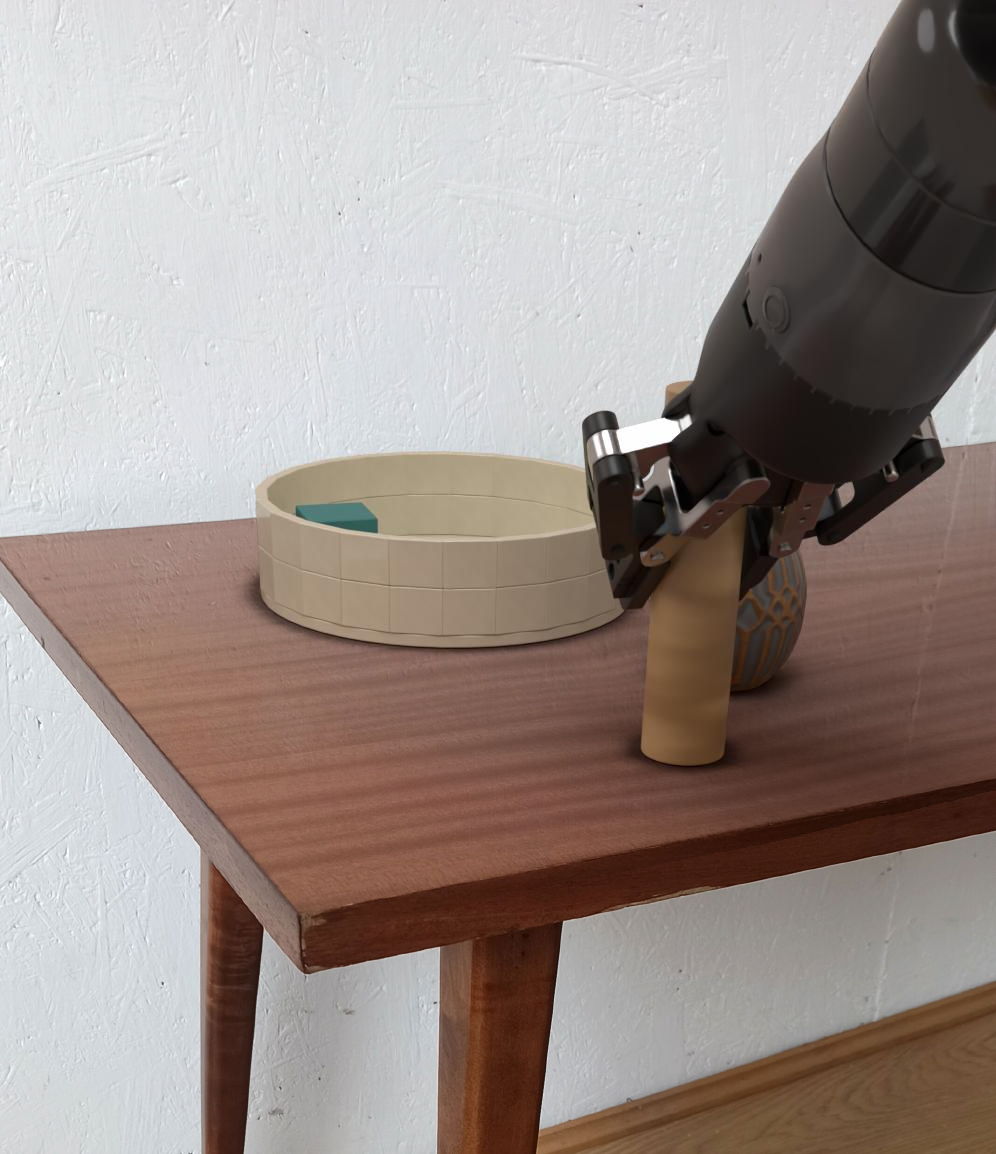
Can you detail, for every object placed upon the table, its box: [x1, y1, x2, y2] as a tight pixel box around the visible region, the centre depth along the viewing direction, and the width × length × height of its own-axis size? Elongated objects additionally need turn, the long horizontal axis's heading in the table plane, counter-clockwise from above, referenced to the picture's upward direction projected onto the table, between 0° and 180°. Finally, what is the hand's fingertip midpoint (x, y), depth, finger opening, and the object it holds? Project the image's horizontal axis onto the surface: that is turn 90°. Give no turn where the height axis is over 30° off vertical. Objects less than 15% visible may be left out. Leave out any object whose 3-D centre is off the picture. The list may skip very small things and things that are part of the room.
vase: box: [649, 548, 808, 692], centre depth 76 cm, size 7×7×9 cm
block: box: [295, 502, 378, 534], centre depth 87 cm, size 4×4×4 cm
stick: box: [640, 380, 748, 767], centre depth 67 cm, size 3×3×14 cm
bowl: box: [254, 450, 626, 649], centre depth 88 cm, size 19×19×5 cm
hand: (674, 583), depth 69 cm, fingers open, 3 cm apart
